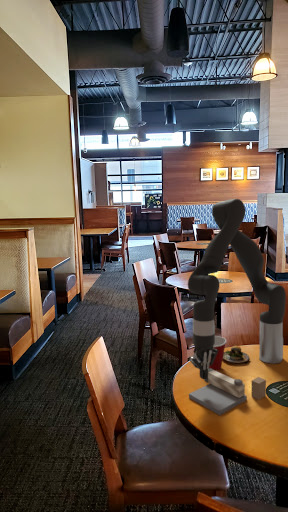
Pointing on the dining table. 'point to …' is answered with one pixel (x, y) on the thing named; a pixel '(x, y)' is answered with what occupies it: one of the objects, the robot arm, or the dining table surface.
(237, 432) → the dining table surface
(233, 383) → the folding leg
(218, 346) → the plastic cup
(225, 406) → the grey slab beige block
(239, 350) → the burger
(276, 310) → the robot arm
